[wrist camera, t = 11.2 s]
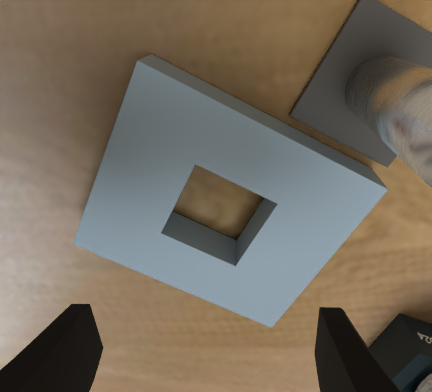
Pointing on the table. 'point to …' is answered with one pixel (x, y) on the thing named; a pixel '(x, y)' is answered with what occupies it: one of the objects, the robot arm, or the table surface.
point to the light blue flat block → (231, 170)
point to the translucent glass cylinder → (396, 107)
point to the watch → (406, 353)
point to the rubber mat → (347, 62)
